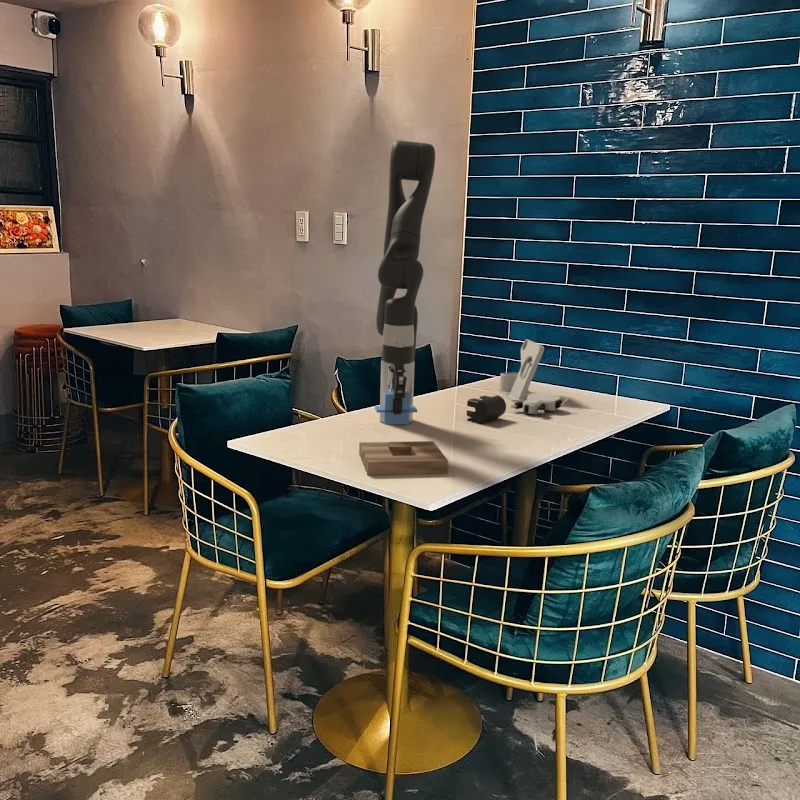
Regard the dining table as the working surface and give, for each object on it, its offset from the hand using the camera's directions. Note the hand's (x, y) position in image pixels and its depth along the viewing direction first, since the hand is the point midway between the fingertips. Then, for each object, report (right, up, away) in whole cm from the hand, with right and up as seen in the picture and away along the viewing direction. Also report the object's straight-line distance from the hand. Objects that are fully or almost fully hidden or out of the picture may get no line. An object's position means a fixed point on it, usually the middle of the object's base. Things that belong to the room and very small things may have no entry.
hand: (395, 411), depth 196 cm
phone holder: (+40, +4, +65) cm, 77 cm away
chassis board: (+1, -12, -12) cm, 17 cm away
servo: (0, -3, +1) cm, 3 cm away
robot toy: (+43, -1, +44) cm, 62 cm away
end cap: (+25, -3, +32) cm, 41 cm away
